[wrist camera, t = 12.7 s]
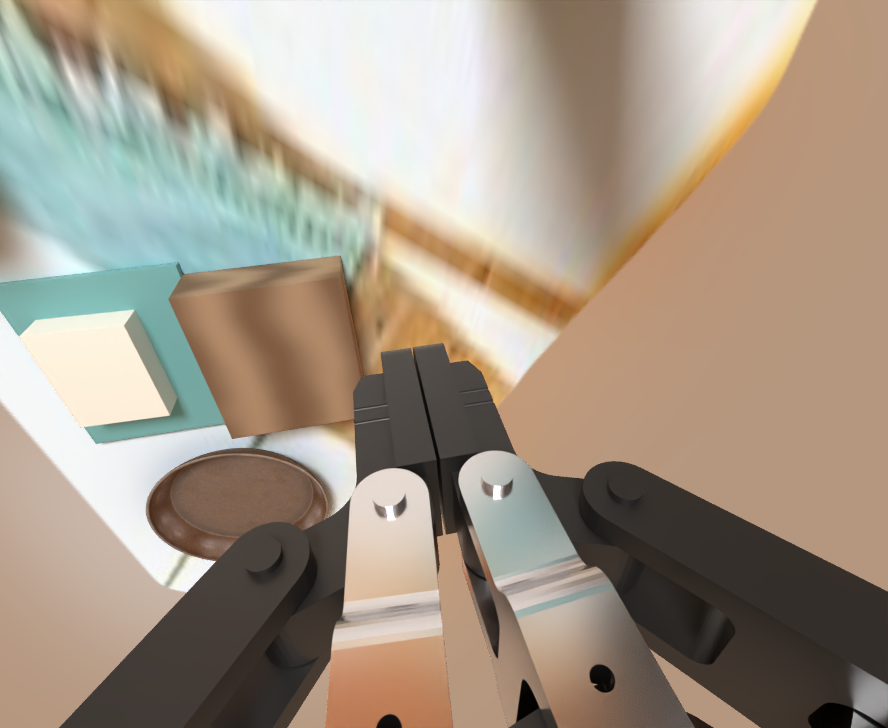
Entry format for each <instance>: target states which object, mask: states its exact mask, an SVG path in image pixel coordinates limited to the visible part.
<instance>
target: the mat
mask: <svg viewBox="0 0 888 728" xmlns="http://www.w3.org/2000/svg"><path fill="white" fill-rule="evenodd" d="M182 275H183V273H182V271H181V269H180V266H179V264H178V262H177V263H169V264H160V265H151V266H143V267H134V268H125V269H117V270H108V271H100V272H91V273H82V274H74V275H65V276H56V277H48V278H39V279H30V280H22V281H13V282H5V283H0V311H1V312H2V314H3V315H4V317H5V318H6V319H7V321H8V322H9V324H10V325H11V326H12V328H13V329H14V331H15V332H16V333H17V335H18V336H20V335H21V334H22V333H23V332H24V331H25V330H26V329H27V328H28V327H29V326H30V325H31V324H32V323H33V322H34V321H35V320H40V319H50V318H59V317H69V316H78V315H88V314H98V313H107V312H117V311H126V310H135V311H136V313H137V315H138V317H139V319H140V321H141V323H142V325H143V327H144V329H145V331H146V333H147V335H148V337H149V339H150V342H151V344H152V346H153V348H154V350H155V352H156V354H157V356H158V358H159V360H160V362H161V364H162V366H163V368H164V370H165V373H166V375H167V377H168V379H169V381H170V383H171V385H172V387H173V389H174V391H175V393H176V395H177V400H176V402H175V405H174V407H173V409H172V412H171V414H170V416H163V417H155V418H148V419H140V420H133V421H125V422H118V423H111V424H103V425H96V426H88V427H84V428H85V429H86V431H87V432H88V433H89V435H90V436H91V438H92V439H93V440H94V442H95V443H96V444H98V443H104V442H110V441H117V440H123V439H130V438H136V437H142V436H149V435H155V434H161V433H168V432H174V431H180V430H187V429H193V428H199V427H206V426H212V425H219V424H225V422H224V420H223V417H222V415H221V413H220V411H219V409H218V407H217V404H216V402H215V400H214V398H213V396H212V394H211V391H210V389H209V387H208V385H207V383H206V380H205V378H204V376H203V374H202V372H201V370H200V367H199V365H198V363H197V361H196V359H195V357H194V354H193V352H192V350H191V348H190V346H189V343H188V341H187V339H186V337H185V335H184V333H183V330H182V328H181V326H180V324H179V322H178V320H177V317H176V315H175V313H174V311H173V309H172V307H171V304H170V302H169V300H168V299H169V297H170V295H171V294H172V292H173V290H174V289H175V287H176V285H177V284H178V282H179V280H180V279H181V277H182Z"/></svg>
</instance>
